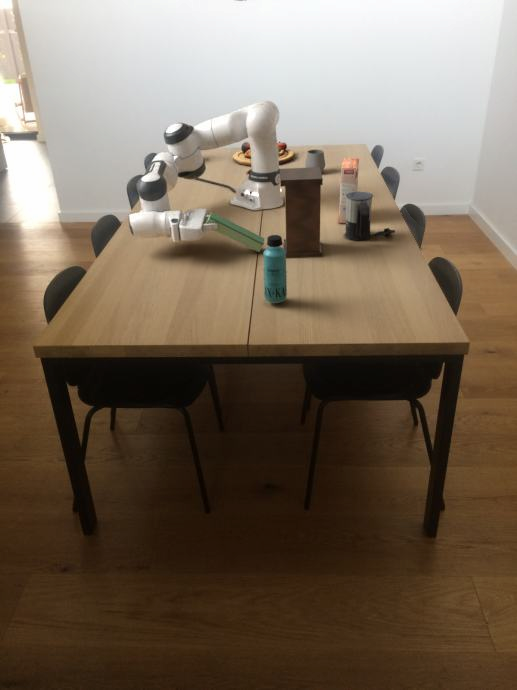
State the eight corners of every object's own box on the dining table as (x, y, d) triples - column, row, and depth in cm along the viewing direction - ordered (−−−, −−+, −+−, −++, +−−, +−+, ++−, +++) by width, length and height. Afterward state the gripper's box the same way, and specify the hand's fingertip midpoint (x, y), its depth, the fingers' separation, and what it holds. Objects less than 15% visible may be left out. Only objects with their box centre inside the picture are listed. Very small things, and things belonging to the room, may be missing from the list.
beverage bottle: (263, 298, 168) (260, 233, 157) (286, 296, 168) (284, 231, 157) (265, 308, 162) (262, 242, 151) (289, 307, 162) (288, 240, 152)
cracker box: (354, 224, 215) (357, 167, 203) (338, 223, 216) (340, 167, 205) (356, 211, 226) (359, 157, 215) (341, 211, 227) (343, 157, 216)
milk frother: (339, 234, 207) (340, 193, 199) (376, 226, 212) (379, 186, 204) (360, 247, 196) (363, 205, 188) (399, 239, 201) (403, 197, 193)
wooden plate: (274, 170, 281) (273, 152, 277) (220, 163, 296) (219, 146, 291) (305, 154, 304) (305, 138, 299) (253, 148, 318) (253, 133, 314)
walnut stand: (282, 258, 191) (280, 180, 177) (281, 243, 202) (279, 168, 188) (322, 257, 191) (323, 178, 177) (319, 242, 202) (320, 167, 188)
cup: (328, 171, 275) (329, 150, 269) (319, 176, 268) (319, 154, 263) (311, 169, 279) (311, 148, 274) (301, 174, 273) (301, 152, 267)
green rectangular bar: (205, 225, 190) (209, 216, 188) (207, 220, 194) (211, 211, 192) (259, 252, 195) (263, 243, 193) (259, 246, 199) (264, 238, 197)
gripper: (182, 222, 203) (221, 220, 202) (173, 244, 186) (216, 243, 185) (180, 204, 199) (220, 203, 199) (171, 225, 182) (214, 224, 182)
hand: (218, 222), depth 192 cm, fingers closed on green rectangular bar, 4 cm apart
